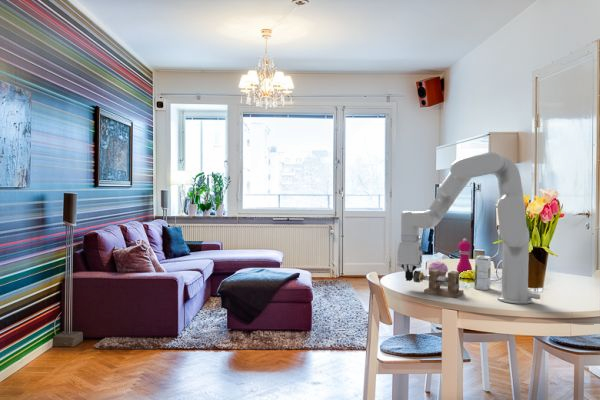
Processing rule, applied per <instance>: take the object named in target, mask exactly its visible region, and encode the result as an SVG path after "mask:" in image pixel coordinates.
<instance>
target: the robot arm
mask: <svg viewBox="0 0 600 400" xmlns="http://www.w3.org/2000/svg"><path fill="white" fill-rule="evenodd" d="M449 170H450V171H449V173H448V175H446V177H445V178H444V180H443V181H442V182H441V184H440V185H439V186H438V188H437V193H436V196H435V198H434V200H433V201H432V203H431V204H430V205H429V207H428V208H427V210H424V211H416V210H403V211H402V212H401V215H400V241H399V242H398V249H397V256H396V257H397V258H396V259H397V264H396V265H397V267H401V268H402V269H403V271H404V272H405V273H404V277H405V281H409V282H412V280H413V274H414V272H415V271H416V270H417V269H421V268H422V267H423V266H422V263H423V251H422V243H421V242H420V241H422V239H423V237H422V236H420V235H419V232H420V231H419V228H420V229H430V228H431V229H432V228H434V227H436V226H437V225H438V224H440V222H441V221H442V219H443V218H444V217H445V216H446V215H447V213H448V211H449V210H450V208H451V207H452V205H453V204H454V203H455V202H456V201H455V200H456V199H457V198H458V197H459V195H460V194H461V193H462V191H463V190H464V189H465V187H466V186H467V185H468V184H469V182H470V181H471V180H472V178H473V179H474V178H478V177H483V176H487V175H493V176H495V177H496V178H497V185H498V192H499V201H498V203H497V217H498V225H499V227H498V228H499V233H500V234H499V236H500V239H501V241H502V255H501V260H502V261H501V263H502V264H501V294H498V295H497V297H496V298H497V300H498V301H500V302H504V303H510V304H518V305H519V304H520V305H521V304H522V305H525V304H526V305H527V304H532V302H533V299H535V300H541V294H540V293H536V292H534V293H533V292H530V289H529V260H530V254H529V253H530V252H529V251H530V230H529V228H528V226H527V225H528V224H527V218H526V217H527V216H526V203H525V199H524V191H523V185H522V178H521V173H520V170H519V168H518V166H517V165H516V163H515V162H513V160H511V159H510V158H508V157H506V156H504V155H501V154H499V153H496V152H492V151H491V152H484V153H480V154H476V155H473V156H472V155H470V156H467V157H463V158H458V159H456V160H455V161H453V163H451V165H450V169H449Z"/></svg>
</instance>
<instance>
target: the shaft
mask: <svg viewBox="0 0 600 400" xmlns="http://www.w3.org/2000/svg"><path fill="white" fill-rule="evenodd" d="M412 280H413V282H414V283H418V284H419V283H422V282H423V281H426V282H427V281H428V282H429V274H424V272H422V271H421V270H414V271H413V279H412ZM437 282H442V283H445V284H446V283H447V284H448V276H445V277H442V276H437Z"/></svg>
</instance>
